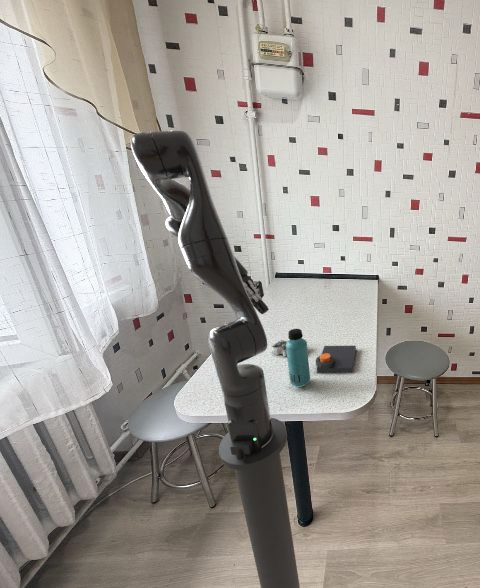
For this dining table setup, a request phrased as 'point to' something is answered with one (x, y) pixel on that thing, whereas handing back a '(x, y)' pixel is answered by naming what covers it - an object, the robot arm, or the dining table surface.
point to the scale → (337, 359)
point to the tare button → (325, 358)
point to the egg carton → (280, 348)
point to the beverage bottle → (297, 358)
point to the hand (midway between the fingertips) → (265, 312)
